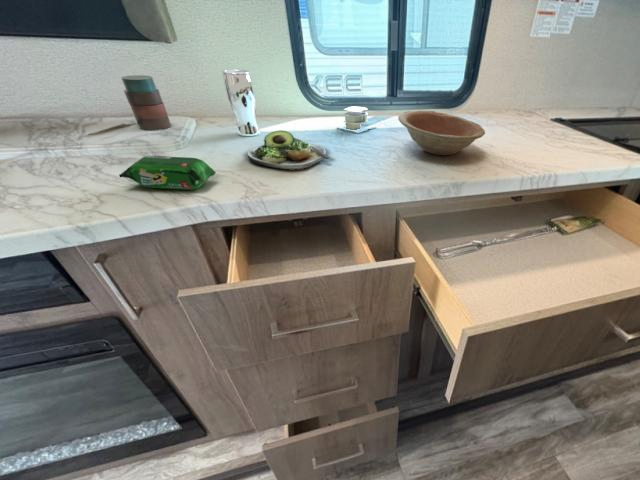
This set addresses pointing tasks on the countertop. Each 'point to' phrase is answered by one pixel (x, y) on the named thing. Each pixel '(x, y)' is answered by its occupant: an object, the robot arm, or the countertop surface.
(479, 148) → the countertop surface
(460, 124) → the bowl
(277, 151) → the salad plate
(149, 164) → the snack package
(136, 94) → the brown striped cylinder
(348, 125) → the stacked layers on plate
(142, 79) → the teal short cylinder
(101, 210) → the countertop surface
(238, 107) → the beer glass
